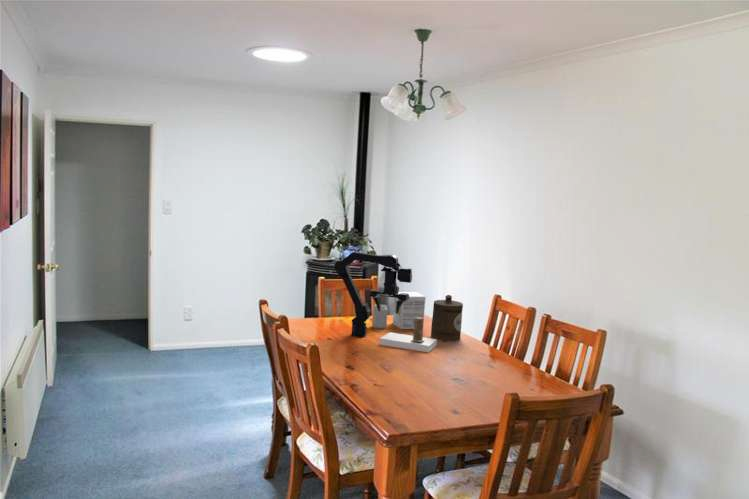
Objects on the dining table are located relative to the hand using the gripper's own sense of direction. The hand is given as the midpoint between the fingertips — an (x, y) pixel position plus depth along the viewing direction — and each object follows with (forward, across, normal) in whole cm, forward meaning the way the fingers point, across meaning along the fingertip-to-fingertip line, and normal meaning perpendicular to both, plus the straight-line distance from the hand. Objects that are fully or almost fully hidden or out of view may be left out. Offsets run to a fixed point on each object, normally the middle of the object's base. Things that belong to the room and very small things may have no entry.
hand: (388, 312), depth 314 cm
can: (+13, +11, -20) cm, 26 cm away
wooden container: (+13, -25, -18) cm, 34 cm away
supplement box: (+13, -1, -32) cm, 35 cm away
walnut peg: (+13, -18, +8) cm, 23 cm away
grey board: (+13, -13, +6) cm, 19 cm away
